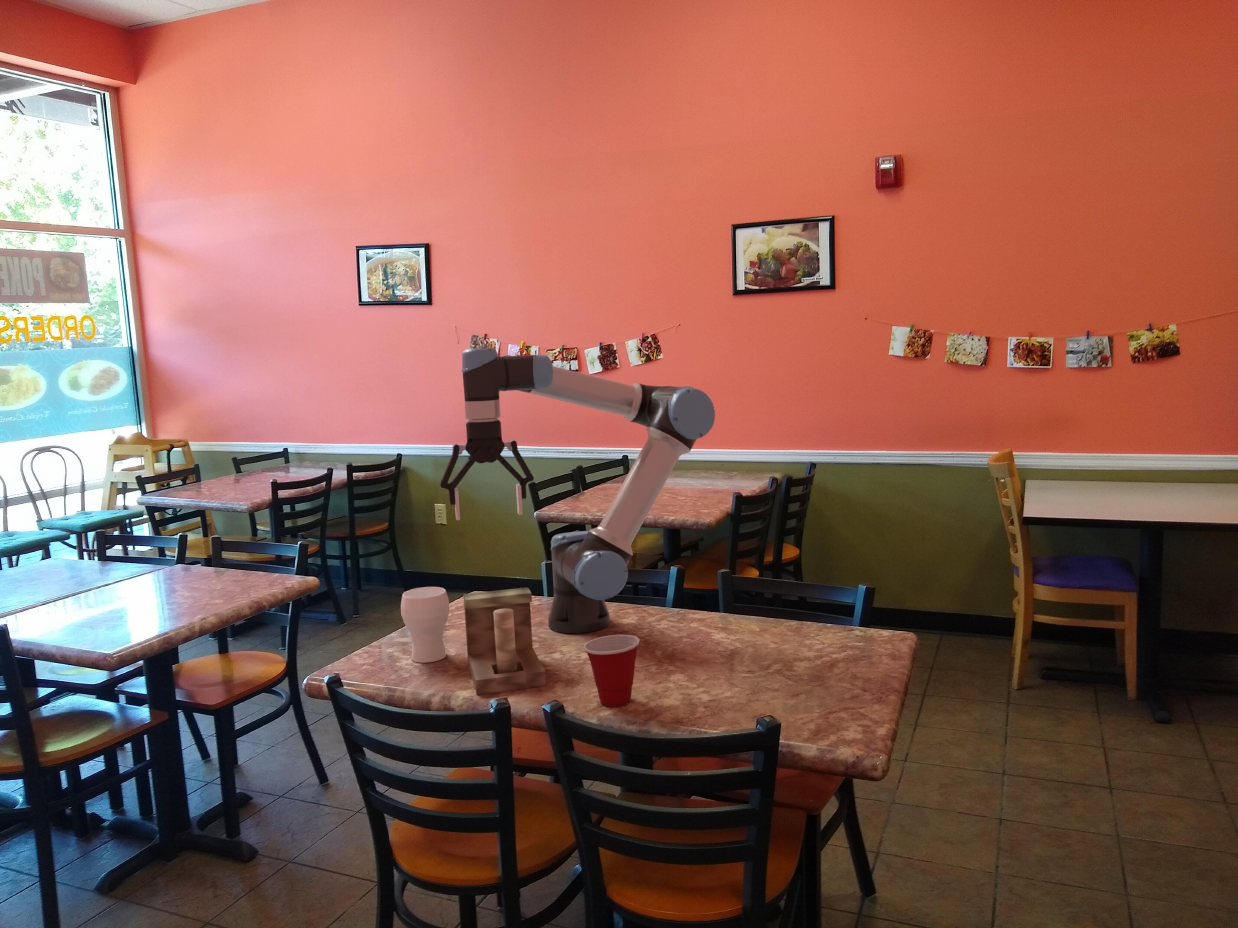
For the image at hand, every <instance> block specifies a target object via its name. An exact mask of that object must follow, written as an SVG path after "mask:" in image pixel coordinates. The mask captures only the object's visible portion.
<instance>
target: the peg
mask: <svg viewBox="0 0 1238 928" xmlns="http://www.w3.org/2000/svg"><path fill="white" fill-rule="evenodd" d="M493 613H494V628H495V643H496V658H497V674H502V673H510V672H517V663H516V648H515V632H514V616H513V610H512V609H507V608H505V609H498V610H495V611H494V612H493Z"/></svg>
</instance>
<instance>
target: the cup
mask: <svg viewBox="0 0 1238 928" xmlns="http://www.w3.org/2000/svg"><path fill="white" fill-rule="evenodd" d="M447 593H448V592H447V591H446V589H445V588H444V587H440V586H425V587H424V586H423V587H416V588H412V589H409V590H407V591H403V593H402V596H401V602H400V615H401V618H402V621H403V623H404V625H405V627H406V628H407V630H408V632H409V633H410V637H411V638H410V639H411V642H412V646H411V655H410V656H411V657H410V658H411V661H412V662H415V663H420V664H423V663H425V664H426V663H433V662H438V661H441V660H442V659H445V658H446V656H447V653H446V646H445V643H444V629H445V627H446V625H447V622H448V619H449V615H450V600H449V597H448V594H447Z"/></svg>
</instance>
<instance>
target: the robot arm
mask: <svg viewBox="0 0 1238 928" xmlns="http://www.w3.org/2000/svg"><path fill="white" fill-rule="evenodd" d="M461 355H462V356H461V357H462V359H461V361H462V362H461V366H462V368H461V373H462V382H463V395H464V411H465V412H464V413H465V414H464V415H465V419H466V420H468V421H467V422H466V423H465V427H466V428H465V430H466V444H458V443H454V444H453V445H452V452H451V453H452V454H451V455H450V458H449V461H448V463H447V465H446V468H445V470H444V472H443V475H442V477H441V480H440V482H439V486H440V488H442V489H446V490H448V498H449V499H448V500H449V503H450V506H454V510H455V519H456V521H461V513H460V512H461V511H460V496H459V489H458V488H457V486H459V484H460V482H461V481H462V480H463V479H464V477H465V476H466V474H467V473H468V472H469V471H470V469H471V468H472V466H473V465H474V464H475V463H477V464H485V463H489V464H491V463H495V462H496V461H498V462H499V463H500V464H501V465H502V466H503V468H505V469H506V470H507V471H508V473H510V474H511V476H513V478H514V479H516V481H518V483H515V489H516V492H515V493H516V506H517V507H516V509H517V512H516V513H517V514H518V515H519V516H521V515H524V514H523V513H524V512H523V500H525V499H527V484H528V483H530V482H533V481H534V479H535V478H534V476H533V474H532V472H531V470H530V468H529V467H528V465H527V464H526V462H525V460H524V458H523V456H522V455H521V452H520V451H519V449H518V443H517V441H516V440H514V439H511V440H508V441H503V434H502V433H503V432H502V422H501V420H500V419H499V418H501V415H502V414H501V403H500V402H501V401H500V392H506V391H507V392H508V391H510V392H511V391H512V392H513V391H518V392H519V391H520V392H523V393H527V394H532V395H536V396H541V397H545V398H548V399H551V400H552V399H553V400H557V401H561V402H565V403H568V404H569V403H570V404H573V405H578V406H581V407H586V408H591V409H594V410H597V411H598V410H599V411H602V412H606V413H610V414H615V415H619V416H623V417H624V419H625V420H626V421H627V422H630V423H634V424H638V425H640V426H644V427H646V428H645V429H646V430H645V431H646V433H647V440H646V441H645V443H644V444H643V446H642V448H641V450H640V451H639V454H638V455H637V457H636V459H635V461H634V462H633V464H632V466H631V468H630V470H629V472H628V473H627V475H626V477H625V479H624V481H622V482H623V483H622V484H621V486H620V488H619V490H618V491H617V493H616V494H615V497H614V498H613V500H612V502H611V504H610V505H609V507H608V509H607V511H606V513H605V515H604V516H603V518H602V520H601V522H600V523H599V525H598V526H597V527H593V528H591V529H589V530H583V531H582V530H581V531H571V532H563V533H557V534H555V535H553V536H552V538H551V543H550V544H551V547H550V551H551V562H552V564H551V565H552V567H551V568H552V581H553V598H552V602H551V605H550V608H549V609H550V610H549V613H548V617H547V621H548V623H547V624H548V628H549V629H551V630H552V631H555V632H559V633H565V634H583V633H590V632H591V633H592V632H597V631H600V630H602V629H605V628H606V627H608V626H609V625H610V623H611V619H610V617H611V616H610V615H611V614H610V611H609V609H608V606H607V604H606V601H605V600H609V599H611V598H613V597H615V596H617V595H618V594H619V593H620V592H621V591H623V589H624V588H625V586H626V583H627V581H628V578H629V577H628V576H629V570H628V565H629V562H630V560H631V559H632V557H633V555H634V554H633V550H632V543H633V541H634V540H635V537H636V535H637V534H638V533H639V531H640V529H641V526H642V525H643V523H644V522H645V520H646V518H647V516H648V514H649V512H650V511H651V509H652V507H653V505H654V503H655V501H656V500H657V498H658V496H659V494H660V493H661V491H662V489H663V487H664V485H665V483H667V480H668V478H669V477H670V475H671V473H672V472H673V469H674V467H676V466H675V465H676V464H677V462H678V460H679V459H680V457H681V456H682V455H685V454H689V453H690V452H691V450H692V448H693V446H694V445H695V443H696V441H697V440H699V439H701V438H703V437H705V436H706V435H707V434H708V433H710V431H711V430H712V429H713V426H714V423H715V420H716V409H715V406H714V403H713V401H712V399H711V398H710V397H709V394H707V393H706V392H705V391H704V390H703V391H702V390H701V389H698V388H695V387H694V386H693V387H692V386H672V385H646V384H642V383H638V382H634V383H632V385H631V384H630V385H629V384H625V383H623V382H617V381H613V380H611V379H606V378H602V377H597V376H594V375H590V374H585V373H582V372H579V371H574V370H570V369H566V368H561V367H558V366H554V365H553V363H552V359H551V358H550V357H549V356H548V355H546V354H530V355H529V354H527V355H509V354H507V355H503V356H499V355H498V352H497V349H496V348H493V347H488V348H487V347H486V348H485V347H483V348H468V349H467V348H466V349H465V350H464V351H462V354H461ZM505 448H506V449H507V450H508V451H509V452H512V455H513V457H514V458H515V460H516V462H517V464H518V465H519V467H520V469H521V471H522V472H523V474H524V476H523V477H522V475H521V474H520V473H519V472H518V471H517V470H516V469H515V468H514V467H513V466H512V465H511V464H510V463H509V462H508V461H507V460H506V458H505V457H503V455H502V452H503V451H504V449H505ZM464 451H466V453H467V454H468V455H469V457H467V459H466V460H465V462H464V463H463V465H462V466H461V468H460V469H459V471H458V472H457V473H456V475H455V476H454V477H453V478H452V480H451V481H450V482H449V480H450V478H451V476H452V474H453V473H452V472H453V471H454V469H455V465H456V464H457V461H458V459H459V456H460V455H463V452H464Z"/></svg>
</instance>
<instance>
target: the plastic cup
mask: <svg viewBox="0 0 1238 928" xmlns="http://www.w3.org/2000/svg"><path fill="white" fill-rule="evenodd" d="M639 644H640V638H639V637H637V636H636V635H632V634H612V635H611V634H610V635H605V636H600V637H597V638H594V639H591V640H589V641H587V642H585V643H584V645H583V646H582V648H583V650H584V651H585V652H586V653H587V656H588V659H589V660H588V661H590V666H591V671H592V673H593V678H594V683H595V686H596V689H597V694H598V699H599V701H600V703H601V705H603V706H605V707H609V708H619V707H623V706H627V705H629V704H630V703H631V698H632V691H633V690H632V689H633V685H634V678H635V667H636V658H637V651H638V646H639Z"/></svg>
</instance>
